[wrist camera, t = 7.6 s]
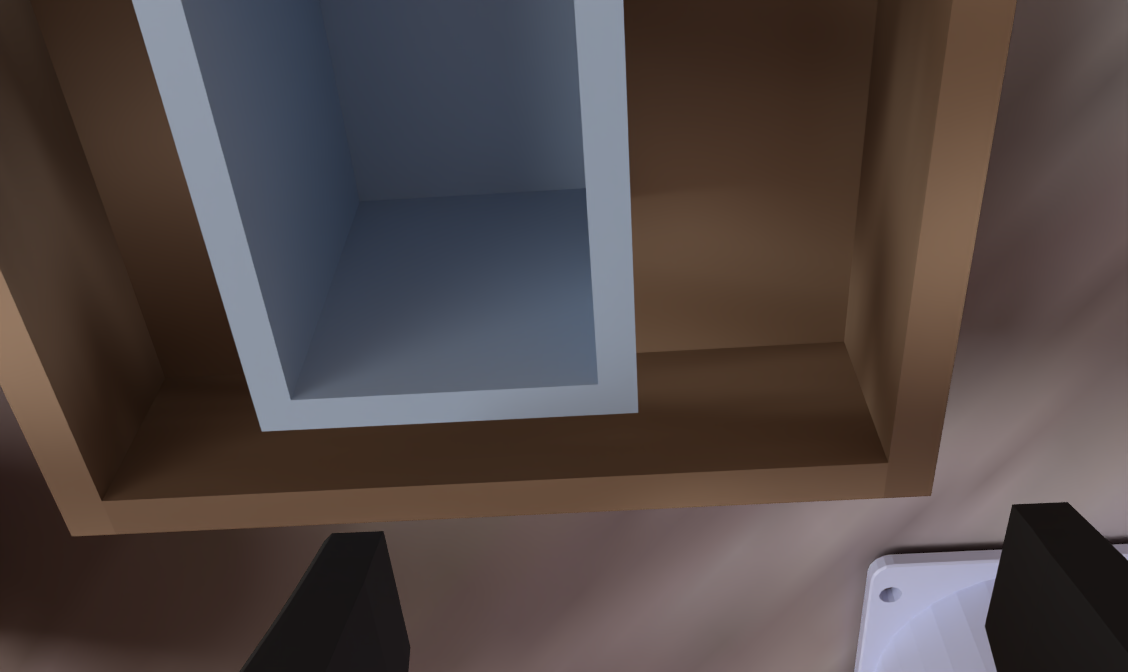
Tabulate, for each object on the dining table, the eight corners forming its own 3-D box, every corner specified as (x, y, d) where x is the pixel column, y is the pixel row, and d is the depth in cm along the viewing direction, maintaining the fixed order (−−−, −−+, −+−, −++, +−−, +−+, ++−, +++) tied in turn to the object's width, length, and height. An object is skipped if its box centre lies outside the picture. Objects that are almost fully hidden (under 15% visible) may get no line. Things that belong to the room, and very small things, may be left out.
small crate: (621, 198, 19) (638, 412, 14) (341, 214, 19) (261, 431, 14) (597, -334, 14) (611, -296, 9) (231, -305, 14) (56, -251, 10)
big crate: (870, 343, 22) (931, 496, 18) (153, 381, 22) (71, 536, 19) (996, -749, 13) (1172, -889, 9) (-218, -630, 13) (-519, -714, 10)
